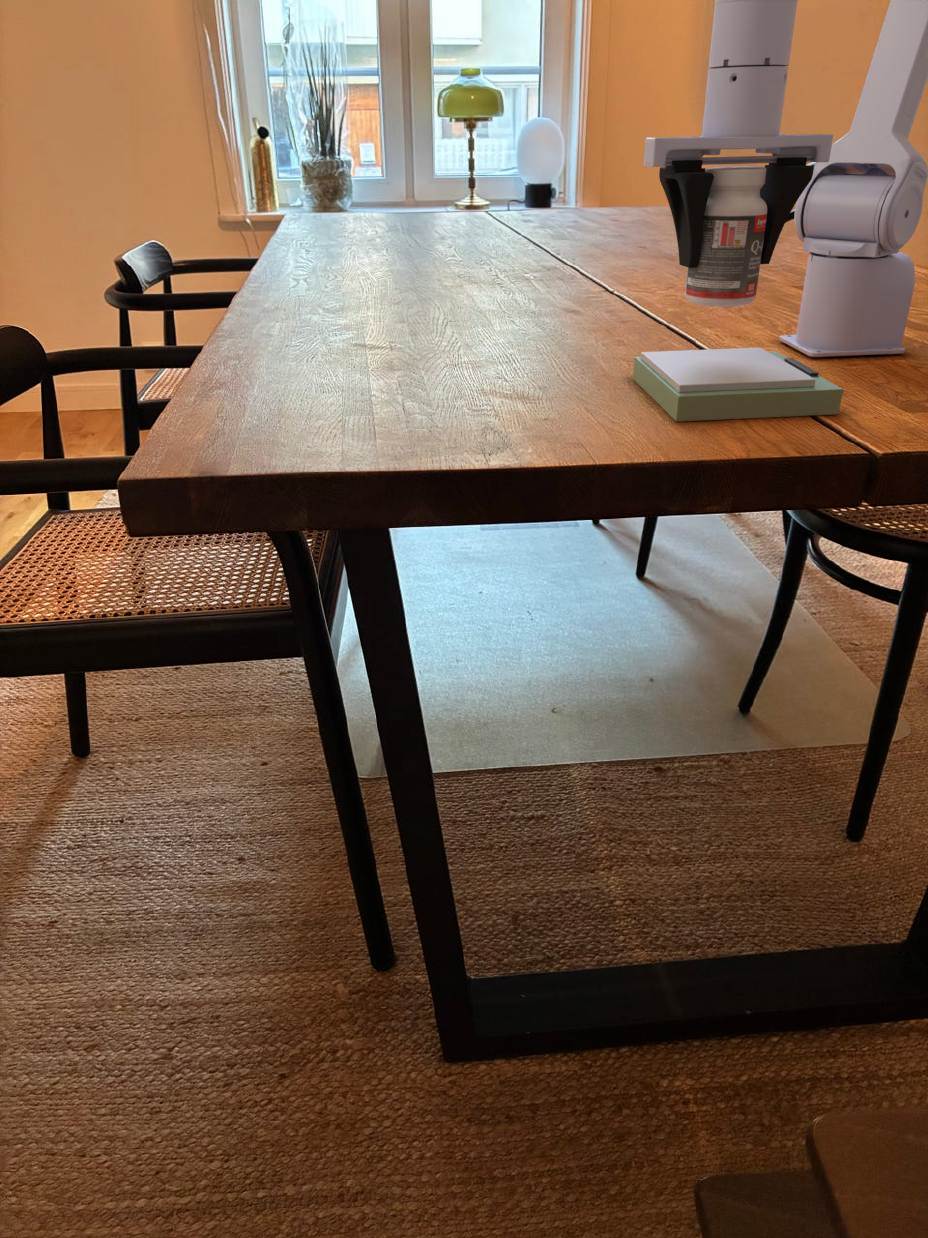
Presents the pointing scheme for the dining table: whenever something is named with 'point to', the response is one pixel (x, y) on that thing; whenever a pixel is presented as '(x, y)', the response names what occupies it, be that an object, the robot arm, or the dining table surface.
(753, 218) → the pill bottle
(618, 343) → the dining table surface
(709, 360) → the scale
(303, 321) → the dining table surface
